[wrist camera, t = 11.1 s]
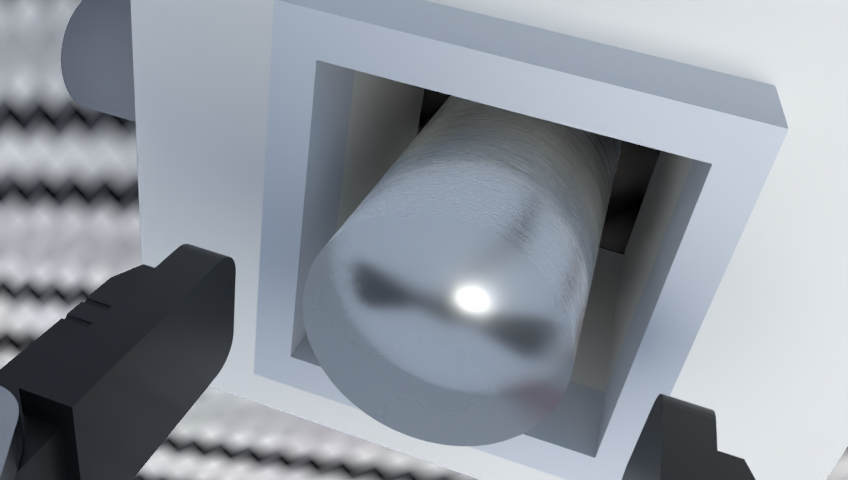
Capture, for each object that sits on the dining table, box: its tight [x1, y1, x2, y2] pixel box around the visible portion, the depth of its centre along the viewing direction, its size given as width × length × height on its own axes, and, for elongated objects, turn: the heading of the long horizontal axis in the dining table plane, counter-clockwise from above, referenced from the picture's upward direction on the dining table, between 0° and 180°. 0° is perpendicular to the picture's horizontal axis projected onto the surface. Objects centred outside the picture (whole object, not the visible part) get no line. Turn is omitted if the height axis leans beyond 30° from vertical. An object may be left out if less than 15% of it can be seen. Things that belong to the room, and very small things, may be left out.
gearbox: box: [61, 0, 848, 480], centre depth 17 cm, size 19×14×8 cm
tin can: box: [303, 95, 622, 446], centre depth 16 cm, size 4×4×10 cm
